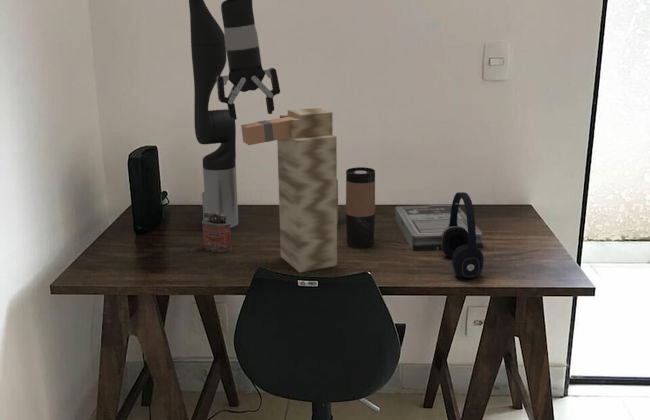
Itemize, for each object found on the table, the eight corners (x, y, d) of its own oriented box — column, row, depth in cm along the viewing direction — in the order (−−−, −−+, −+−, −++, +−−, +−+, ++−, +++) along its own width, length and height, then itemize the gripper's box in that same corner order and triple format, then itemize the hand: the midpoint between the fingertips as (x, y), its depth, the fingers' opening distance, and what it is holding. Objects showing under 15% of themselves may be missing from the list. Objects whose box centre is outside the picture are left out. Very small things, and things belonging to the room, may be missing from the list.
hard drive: (412, 252, 182) (413, 236, 180) (394, 220, 208) (394, 206, 206) (482, 249, 183) (483, 233, 182) (455, 218, 209) (456, 204, 208)
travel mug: (378, 241, 189) (379, 168, 183) (368, 250, 182) (369, 175, 177) (352, 237, 192) (352, 166, 186) (341, 246, 186) (341, 172, 180)
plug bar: (249, 145, 158) (246, 127, 157) (243, 142, 162) (241, 124, 161) (305, 134, 164) (304, 117, 162) (298, 131, 167) (297, 114, 166)
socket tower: (299, 272, 168) (296, 117, 157) (280, 256, 178) (276, 109, 168) (337, 265, 172) (336, 113, 161) (316, 250, 183) (314, 106, 172)
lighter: (234, 248, 185) (232, 212, 182) (228, 253, 181) (226, 216, 179) (207, 245, 187) (204, 209, 184) (200, 249, 184) (198, 213, 181)
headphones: (438, 252, 180) (441, 183, 175) (465, 252, 180) (468, 183, 175) (455, 283, 161) (458, 206, 156) (485, 282, 161) (489, 206, 156)
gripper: (213, 52, 155) (225, 124, 160) (276, 43, 159) (285, 114, 164) (209, 49, 162) (220, 118, 167) (269, 41, 165) (278, 109, 171)
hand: (252, 116), depth 165 cm, fingers open, 8 cm apart
